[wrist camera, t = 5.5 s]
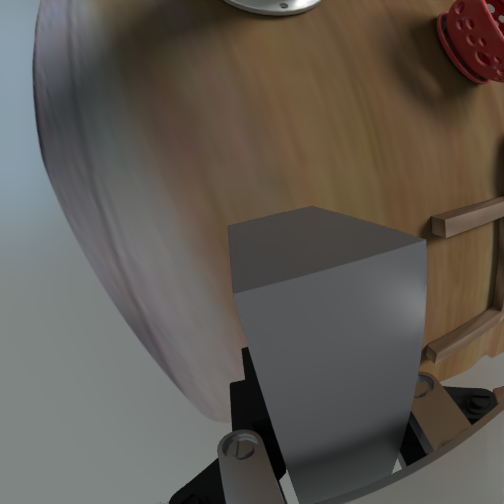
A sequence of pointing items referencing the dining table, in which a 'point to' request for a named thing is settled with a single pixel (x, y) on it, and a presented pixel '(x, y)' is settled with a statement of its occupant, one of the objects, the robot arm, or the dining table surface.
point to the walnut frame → (500, 308)
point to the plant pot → (474, 39)
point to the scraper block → (332, 340)
